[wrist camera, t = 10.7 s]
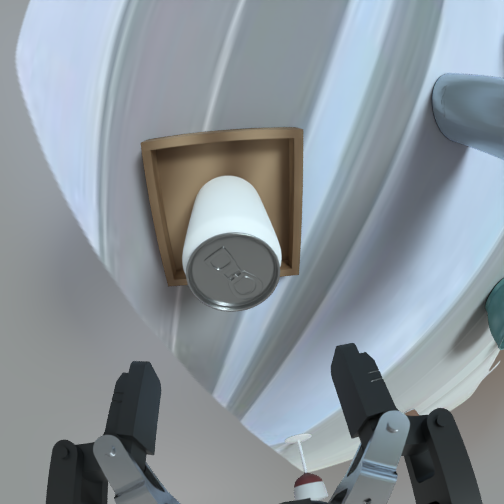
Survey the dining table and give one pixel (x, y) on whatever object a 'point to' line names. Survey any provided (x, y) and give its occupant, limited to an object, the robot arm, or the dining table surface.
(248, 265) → the can
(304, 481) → the wineglass
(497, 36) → the dining table surface
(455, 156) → the dining table surface
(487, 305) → the teal green bowl
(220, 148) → the tray
